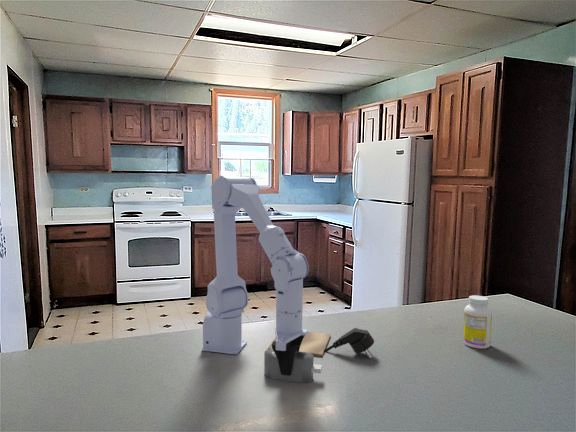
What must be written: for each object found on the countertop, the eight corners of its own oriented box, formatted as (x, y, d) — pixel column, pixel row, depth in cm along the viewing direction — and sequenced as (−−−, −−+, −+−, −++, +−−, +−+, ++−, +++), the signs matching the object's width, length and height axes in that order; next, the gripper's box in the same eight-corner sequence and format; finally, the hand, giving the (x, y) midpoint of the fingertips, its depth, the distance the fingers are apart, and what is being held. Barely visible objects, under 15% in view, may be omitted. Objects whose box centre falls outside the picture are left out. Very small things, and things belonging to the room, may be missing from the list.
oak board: (267, 350, 104) (267, 348, 104) (281, 331, 118) (281, 329, 118) (322, 356, 101) (322, 354, 101) (330, 336, 114) (330, 334, 114)
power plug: (324, 344, 107) (363, 320, 104) (341, 368, 107) (380, 346, 104) (321, 352, 102) (362, 328, 99) (339, 378, 101) (380, 355, 99)
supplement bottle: (474, 338, 114) (477, 293, 113) (495, 347, 108) (498, 299, 107) (457, 342, 111) (459, 295, 110) (478, 351, 105) (480, 302, 104)
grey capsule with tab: (261, 377, 90) (262, 354, 90) (267, 369, 94) (267, 347, 94) (319, 384, 87) (320, 361, 87) (322, 376, 91) (323, 354, 90)
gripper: (300, 322, 81) (299, 388, 83) (313, 301, 95) (312, 358, 97) (266, 318, 83) (265, 383, 84) (284, 299, 97) (283, 355, 98)
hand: (288, 369), depth 91 cm, fingers closed on grey capsule with tab, 4 cm apart
